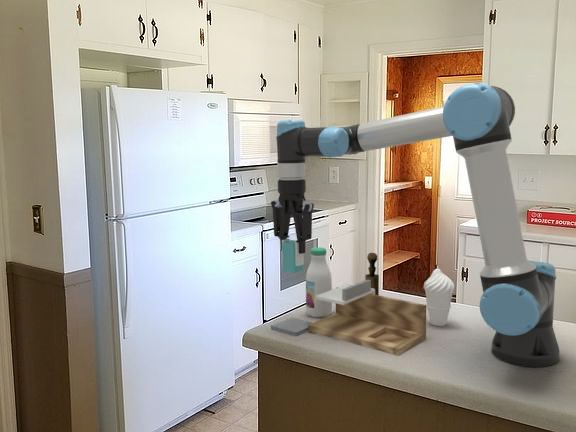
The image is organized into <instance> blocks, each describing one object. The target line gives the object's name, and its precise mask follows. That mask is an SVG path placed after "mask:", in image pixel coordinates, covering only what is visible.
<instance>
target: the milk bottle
mask: <svg viewBox="0 0 576 432" xmlns="http://www.w3.org/2000/svg"><path fill="white" fill-rule="evenodd" d="M310 256H311V259H310V263H309V265H308V267H307V270H306V275H305V307H306V308H305V313H306V314H307V316H309V317H313V318H325V317H328V316H330V315H332V314H333V303H332V302H328V301H323V300H319V299H316V296H317V295H319V294H322V293H325V292H327V291H330V290H333V289H332V287H333V286H332V285H333V283H332V282H333V281H332V272H331V270H330V266H329V265H328V263H327V259H326V257H327V249H326V248H325V247H312V248H311V249H310Z"/></svg>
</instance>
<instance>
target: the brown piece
mask: <svg viewBox="0 0 576 432" xmlns="http://www.w3.org/2000/svg"><path fill="white" fill-rule="evenodd" d="M338 287H339V286H337V287H336V288H338ZM307 332H308V333H309V334H314V335H316V334H318V335H323V336H326V337H329V338H333V339H337V340H341V341H344V342H347V343H351V344H356V345H359V346H362V347H366V348H369V349H373V350H377V351H380V352H384V353H388V354H391V355H395V356H397V357H398V356H400V355H403V353H405V352H407V351H409V350H411V348H414V347H415V346H417V345H419V344H420V343H422V342H423V341H425V340H427V306H426V304H423V303H422V304H421V303H419V302H414V301H410V300H409V301H408V300H404V299H403V300H402V299H399V298H393V297H388V296H384V295H380V294H379V295H375V294H369V295H366V296H364V297H361V298H359V299H357V300H354V301H352V302H349V303H347V304H345V305H341V304H337V303H335V313H331V315H330V316H327V317H322V318H321V319H319V320H316V321H314V322H312V323H311V324H309V325H308V331H307Z"/></svg>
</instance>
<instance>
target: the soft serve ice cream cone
mask: <svg viewBox="0 0 576 432" xmlns="http://www.w3.org/2000/svg"><path fill="white" fill-rule="evenodd" d="M423 284H424V285H423V289H424V291H425V296H426V297H425V298H426V299H425V300H426V304H425V305H426V310H427V314H428V319H429V324H430V325H432V326H434V327H435V326H436V327H444V326H446V325H447V322H448V318H449V313H450V310H451V307H452V305H451V302H452V297H453V291H454V290H455V283H454V282H453V280H451V278H449V277H448V276H447V275H446V274H445V273H444V272H442V270H441V269H440V268H435V269H434V270H433V271H432V273H431V275H430V276H429V277H428V278H427V280H425V281H424V283H423Z"/></svg>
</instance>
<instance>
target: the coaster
mask: <svg viewBox="0 0 576 432" xmlns="http://www.w3.org/2000/svg"><path fill="white" fill-rule="evenodd" d="M311 323H313V321H308V320H305V319H304V320H303V319H300V318H297V317H293V316H292V317H289V318H287V319H284V320H281V321H278V322H277V323H274V324H272V325H270V328H271V330H274V331H277V332H280V333H284V334H287V335H291V336H294V337H298V336H301V335H302V334H304V333H306V332H308V325H309V324H311Z"/></svg>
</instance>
